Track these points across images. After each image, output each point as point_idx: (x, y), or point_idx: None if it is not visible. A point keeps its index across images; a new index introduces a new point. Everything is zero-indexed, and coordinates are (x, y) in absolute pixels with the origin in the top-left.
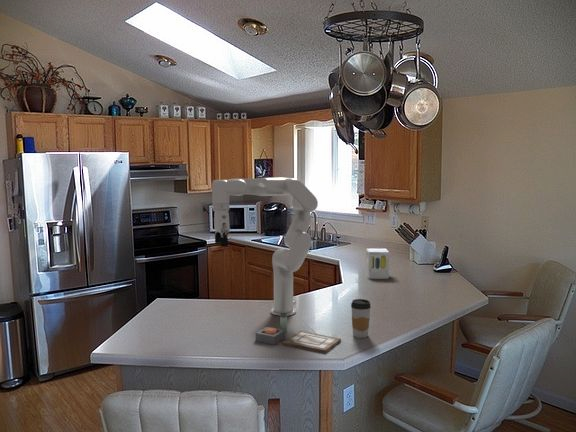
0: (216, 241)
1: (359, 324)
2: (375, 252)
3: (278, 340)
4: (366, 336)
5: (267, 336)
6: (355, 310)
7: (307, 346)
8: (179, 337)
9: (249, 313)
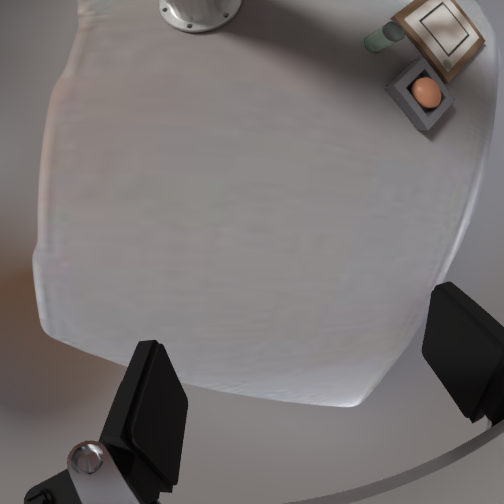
0: (182, 409)
1: None
2: None
3: None
4: None
5: (444, 110)
6: None
7: (471, 55)
8: (343, 300)
9: (183, 95)
